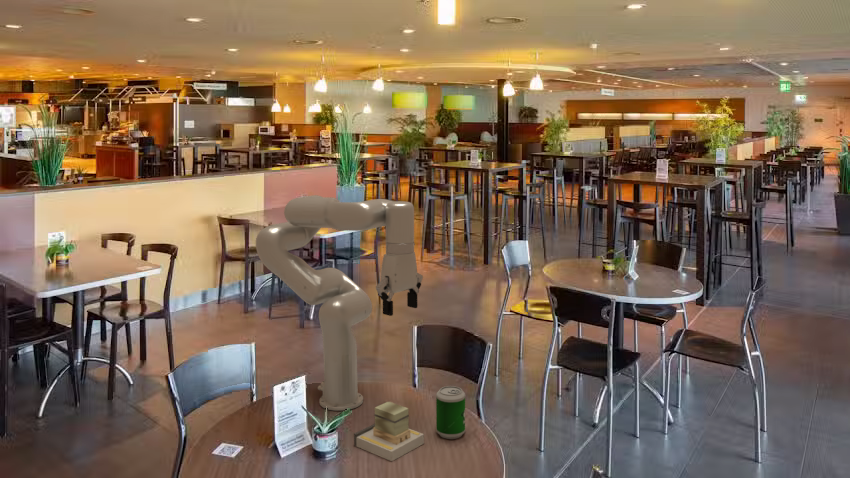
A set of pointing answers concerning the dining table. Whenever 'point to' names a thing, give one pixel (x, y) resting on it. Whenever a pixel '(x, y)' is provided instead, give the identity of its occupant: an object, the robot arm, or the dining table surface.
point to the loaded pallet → (391, 422)
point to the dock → (386, 443)
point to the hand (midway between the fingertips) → (400, 310)
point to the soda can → (450, 412)
